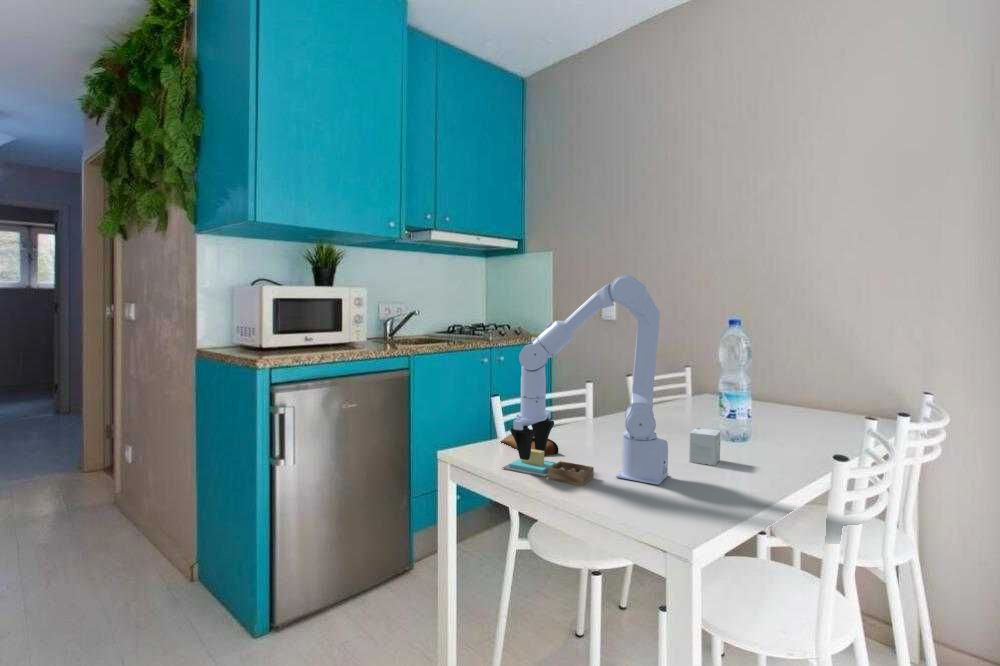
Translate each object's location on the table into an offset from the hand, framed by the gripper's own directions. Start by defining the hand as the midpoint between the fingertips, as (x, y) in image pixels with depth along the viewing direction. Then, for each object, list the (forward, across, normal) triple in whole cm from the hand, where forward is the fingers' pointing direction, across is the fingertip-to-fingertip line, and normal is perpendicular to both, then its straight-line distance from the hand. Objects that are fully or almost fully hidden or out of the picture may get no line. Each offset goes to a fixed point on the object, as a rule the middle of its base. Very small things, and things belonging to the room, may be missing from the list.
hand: (532, 455), depth 122 cm
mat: (+3, 0, 0) cm, 3 cm away
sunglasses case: (+4, -15, -10) cm, 18 cm away
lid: (+3, 0, 0) cm, 3 cm away
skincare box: (+3, -28, +32) cm, 43 cm away
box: (+3, +2, +10) cm, 11 cm away
